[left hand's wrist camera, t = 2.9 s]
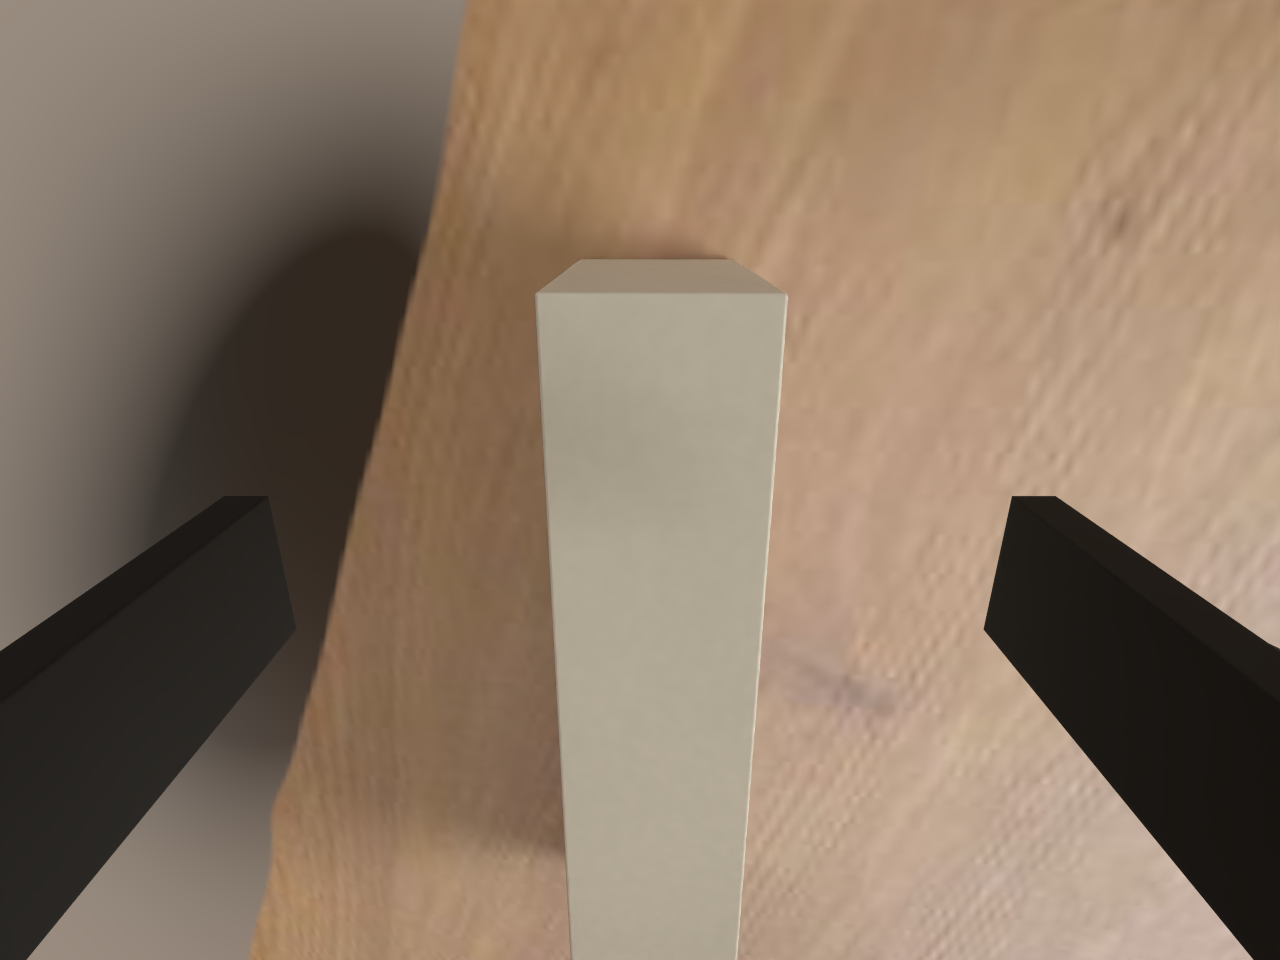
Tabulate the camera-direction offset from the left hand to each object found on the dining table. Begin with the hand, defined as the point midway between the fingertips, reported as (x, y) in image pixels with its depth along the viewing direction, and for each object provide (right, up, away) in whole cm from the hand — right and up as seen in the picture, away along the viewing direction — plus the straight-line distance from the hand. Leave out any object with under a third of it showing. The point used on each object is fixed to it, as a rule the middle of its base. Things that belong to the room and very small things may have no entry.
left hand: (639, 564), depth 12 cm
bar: (0, -4, +14) cm, 15 cm away
